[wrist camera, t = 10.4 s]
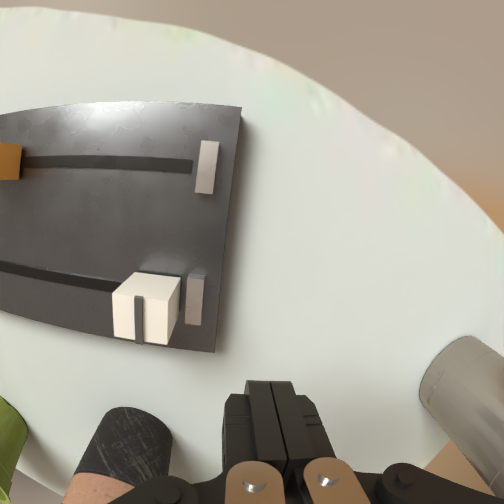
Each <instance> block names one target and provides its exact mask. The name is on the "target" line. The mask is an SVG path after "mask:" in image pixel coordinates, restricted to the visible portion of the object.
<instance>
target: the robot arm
mask: <svg viewBox="0 0 504 504" xmlns="http://www.w3.org/2000/svg"><path fill="white" fill-rule="evenodd" d="M419 394H420V400H421V402H422V404H423V405H424V406H425V407H426V408H427V410H428V411H429V412H430V413H431V414H432V416H433V417H434V418H435V419H436V421H437V422H438V423H439V425H440V426H441V427H442V428H443V429H444V431H445V432H446V433H447V434H448V436H449V437H450V438H451V439H452V441H453V442H454V443H455V444H456V446H457V447H458V448H459V449H460V451H461V452H462V453H463V454H464V456H465V457H466V458H467V460H468V461H469V462H470V463H471V465H472V466H473V467H474V469H475V470H476V471H477V472H478V474H479V475H480V476H481V477H482V479H483V480H484V482H485V483H486V484H487V486H488V487H489V488H490V489H491V490H492V492H493V493H494V494H495V496H496V497H495V496H492V495H488V494H485V493H482V492H479V491H476V490H474V489H471V488H468V487H465V486H462V485H460V484H457V483H454V482H451V481H449V480H447V479H444V478H442V477H439V476H437V475H435V474H432V473H430V472H427V471H425V470H423V469H421V468H418V467H416V466H414V465H411V464H408V463H396V464H393V465H391V466H389V467H388V468H387V469H386V470H385V471H384V472H383V474H376V473H361V472H356V471H353V470H352V469H351V467H350V466H349V465H348V464H346V463H345V462H343V461H342V460H339V459H337V458H336V456H335V453H334V451H333V449H332V446H331V444H330V441H329V439H328V436H327V434H326V431H325V429H324V426H322V421H321V419H320V417H319V414H318V411H317V409H316V407H315V404H314V403H313V402H312V401H311V400H310V399H309V398H308V397H307V396H305V395H296V394H295V391H294V388H293V385H292V383H291V381H255V380H247V381H246V385H245V391H244V394H231V395H230V396H229V398H228V399H227V401H226V402H225V407H224V417H223V426H222V469H223V472H222V473H221V474H220V475H219V476H217V477H216V478H214V479H212V480H209V481H206V482H201V483H195V484H189V483H188V482H186V481H185V480H183V479H180V478H178V477H174V476H167V475H162V476H155V477H152V478H150V479H148V480H146V481H144V482H143V483H141V484H140V485H138V486H136V487H135V488H133V489H131V490H130V491H128V492H126V493H125V494H123V495H121V496H120V497H118V498H116V499H114V500H112V501H111V502H109V503H107V504H504V357H502V356H501V355H500V354H499V353H497V352H496V351H494V350H493V349H492V348H490V347H489V346H487V345H486V344H484V343H483V342H482V341H480V340H479V339H477V338H476V337H473V336H465V337H462V338H459V339H457V340H456V341H454V342H452V343H451V344H450V345H448V346H447V347H446V348H445V349H444V350H443V351H442V352H441V353H440V354H439V355H438V356H437V357H436V359H435V360H434V361H433V362H432V364H431V365H430V367H429V368H428V370H427V372H426V374H425V376H424V378H423V380H422V383H421V386H420V392H419Z"/></svg>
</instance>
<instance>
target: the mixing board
mask: <svg viewBox="0 0 504 504" xmlns="http://www.w3.org/2000/svg"><path fill="white" fill-rule="evenodd" d="M241 110H242V107H234V106H225V105H214V104H201V103H185V102H156V101H128V102H100V103H84V104H72V105H62V106H53V107H45V108H38V109H31V110H25V111H19V112H13V113H8V114H3V115H0V142H3V143H10V144H17V145H22V152H21V160H20V170H19V180H0V310H3V311H6V312H9V313H12V314H16V315H19V316H22V317H26V318H29V319H33V320H37V321H40V322H44V323H48V324H52V325H56V326H60V327H64V328H68V329H72V330H76V331H81V332H85V333H90V334H95V335H100V336H105V337H110V338H115V339H120V340H126V341H131V342H135V340H133V339H127V338H121V337H116V336H114V324H113V303H112V293H113V292H114V291H115V290H116V289H117V288H118V287H119V286H120V285H121V284H122V283H124V282H125V281H126V280H127V279H128V278H129V277H130V276H131V275H132V274H133V273H134V272H138V273H146V274H154V275H162V276H170V277H179V278H181V280H180V299H179V315H178V318H177V321H176V323H175V326H174V328H173V331H172V334H171V336H170V339H169V342H168V344H167V345H165V344H158V343H151V342H145V341H144V342H143V344H150V345H156V346H163V347H170V348H178V349H185V350H194V351H203V352H212V353H214V352H215V340H216V328H217V317H218V306H219V296H220V286H221V276H222V266H223V256H224V247H225V238H226V229H227V220H228V211H229V202H230V194H231V186H232V178H233V170H234V162H235V154H236V146H237V139H238V131H239V124H240V117H241Z"/></svg>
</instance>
